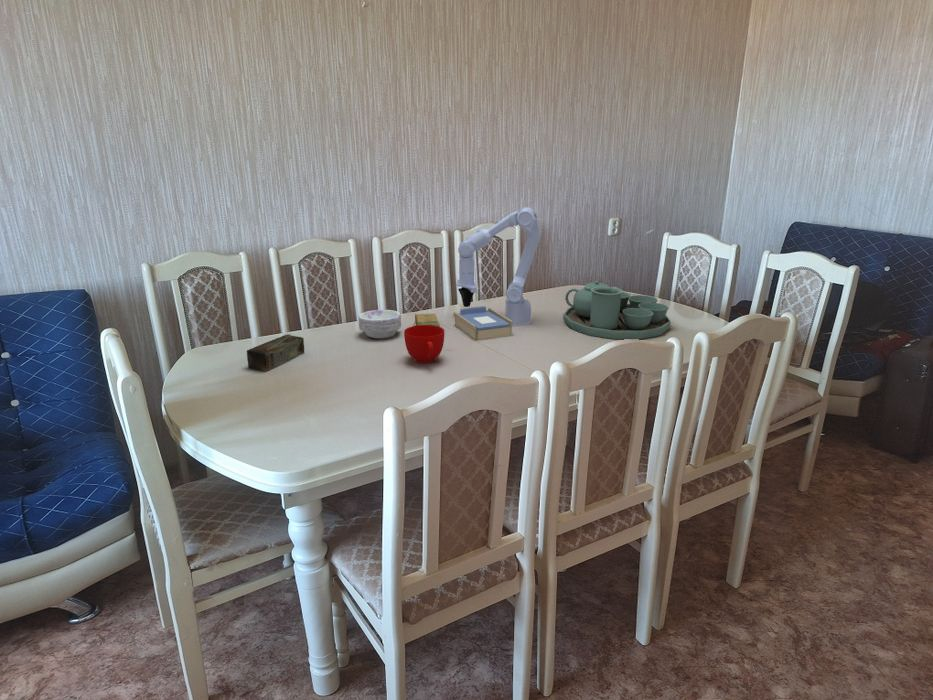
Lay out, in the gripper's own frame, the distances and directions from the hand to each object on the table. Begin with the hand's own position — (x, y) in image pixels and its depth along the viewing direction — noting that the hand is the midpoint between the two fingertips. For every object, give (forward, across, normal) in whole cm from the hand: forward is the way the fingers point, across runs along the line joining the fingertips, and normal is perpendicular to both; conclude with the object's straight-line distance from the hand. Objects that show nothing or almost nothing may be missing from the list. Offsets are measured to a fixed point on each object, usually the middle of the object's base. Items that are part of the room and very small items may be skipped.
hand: (466, 306), depth 234 cm
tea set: (+6, +26, +52) cm, 58 cm away
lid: (+2, +15, 0) cm, 15 cm away
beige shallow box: (+6, +15, 0) cm, 16 cm away
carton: (+6, +4, -18) cm, 19 cm away
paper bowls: (+6, +4, -36) cm, 37 cm away
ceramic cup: (+6, +37, -30) cm, 48 cm away
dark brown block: (+6, +17, -74) cm, 76 cm away
